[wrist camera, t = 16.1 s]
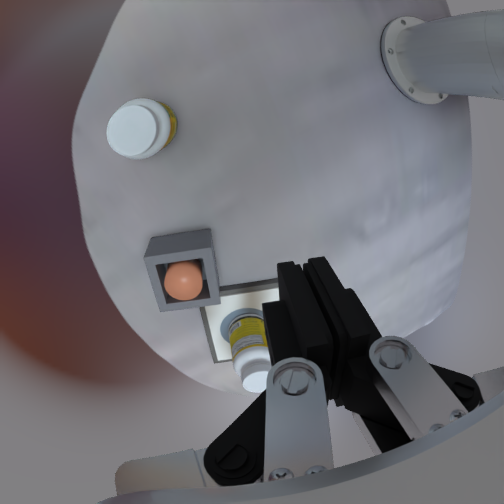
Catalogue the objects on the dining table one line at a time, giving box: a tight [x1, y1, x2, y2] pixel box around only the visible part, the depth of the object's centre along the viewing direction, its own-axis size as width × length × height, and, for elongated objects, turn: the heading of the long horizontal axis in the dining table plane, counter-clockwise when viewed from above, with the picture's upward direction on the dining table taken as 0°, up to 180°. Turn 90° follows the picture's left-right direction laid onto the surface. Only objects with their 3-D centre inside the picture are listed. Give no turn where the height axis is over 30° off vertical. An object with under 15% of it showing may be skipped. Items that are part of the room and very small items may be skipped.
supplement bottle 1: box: [107, 98, 177, 160], centre depth 23 cm, size 5×5×10 cm
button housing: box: [144, 229, 221, 312], centre depth 32 cm, size 7×7×5 cm
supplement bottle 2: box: [228, 314, 272, 392], centre depth 34 cm, size 5×5×10 cm
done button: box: [164, 259, 202, 300], centre depth 31 cm, size 4×4×3 cm
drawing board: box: [200, 278, 279, 363], centre depth 39 cm, size 11×13×1 cm
